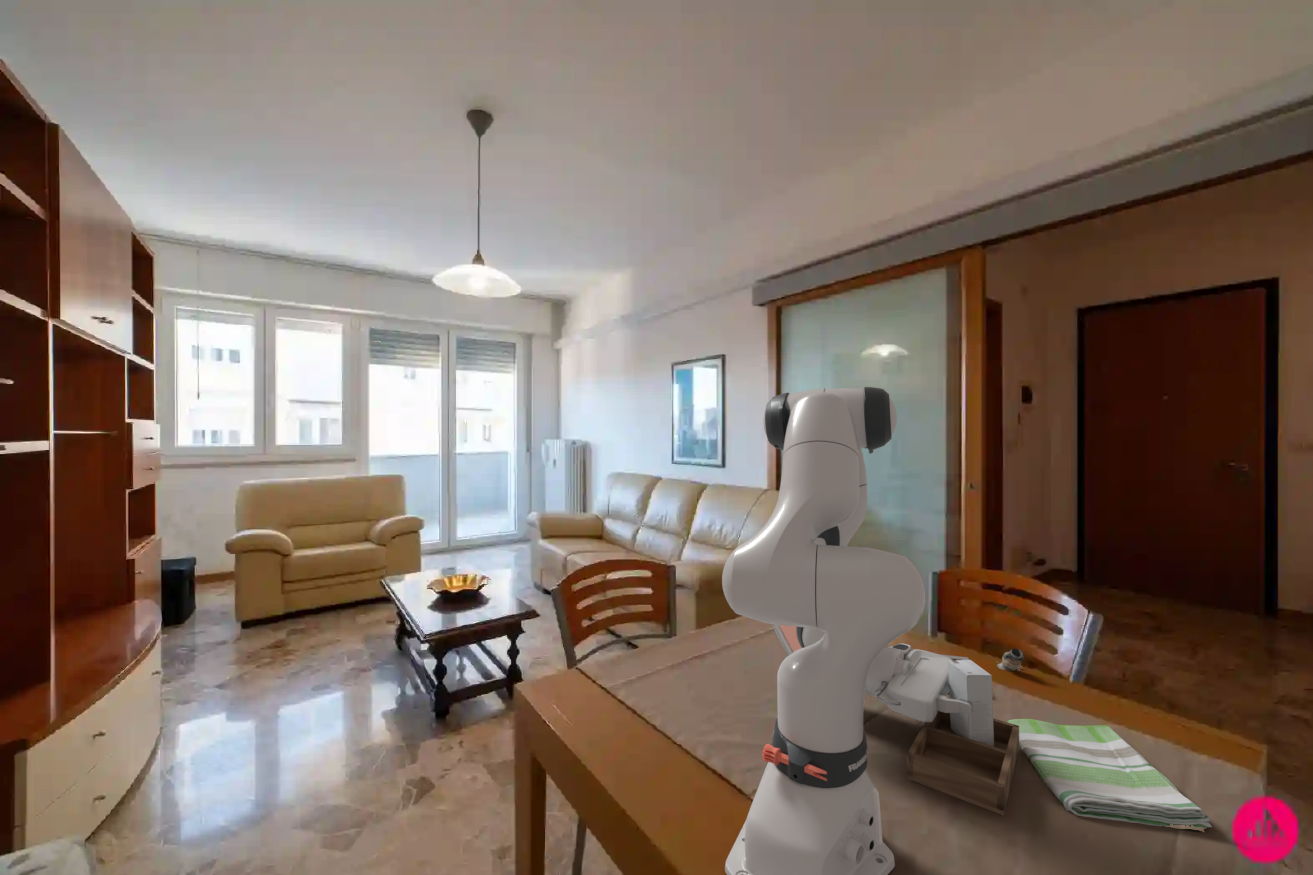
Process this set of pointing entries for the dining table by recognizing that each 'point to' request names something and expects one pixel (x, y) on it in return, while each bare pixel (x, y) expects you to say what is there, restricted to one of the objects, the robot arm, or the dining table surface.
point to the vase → (1011, 660)
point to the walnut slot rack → (965, 762)
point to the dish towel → (1103, 775)
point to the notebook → (788, 637)
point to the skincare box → (977, 689)
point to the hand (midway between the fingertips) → (976, 698)
